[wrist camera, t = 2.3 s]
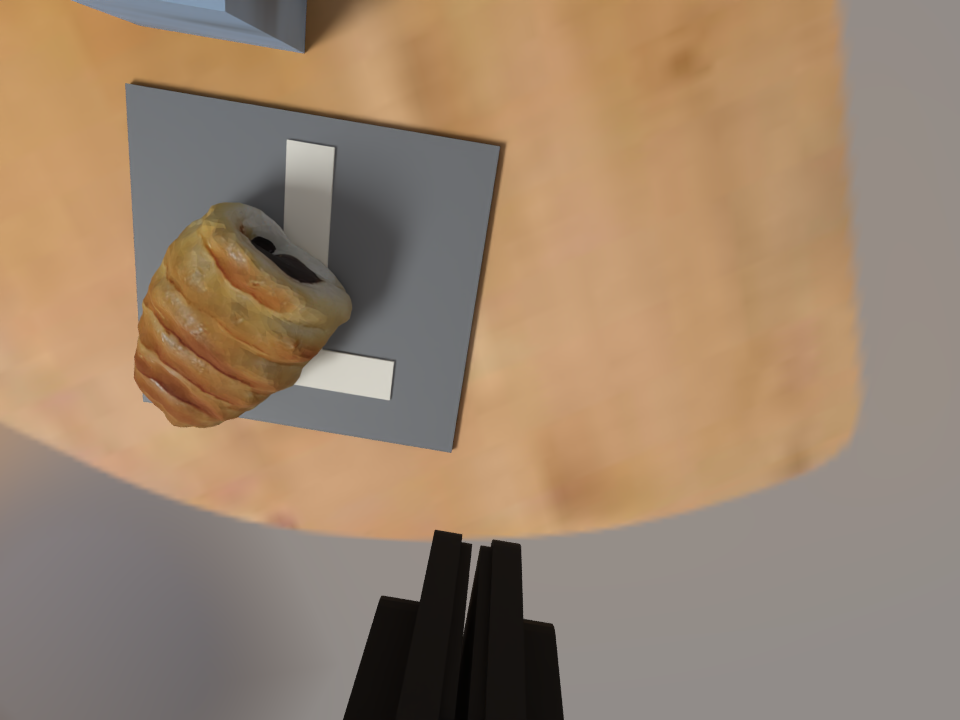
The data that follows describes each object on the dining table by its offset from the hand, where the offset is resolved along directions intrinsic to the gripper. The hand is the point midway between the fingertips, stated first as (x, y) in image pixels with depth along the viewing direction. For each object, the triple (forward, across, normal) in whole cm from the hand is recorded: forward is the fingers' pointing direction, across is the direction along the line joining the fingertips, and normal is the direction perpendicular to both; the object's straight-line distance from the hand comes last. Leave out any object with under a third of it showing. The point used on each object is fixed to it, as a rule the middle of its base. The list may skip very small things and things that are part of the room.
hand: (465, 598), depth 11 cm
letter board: (+14, +8, -2) cm, 16 cm away
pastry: (+14, +10, -1) cm, 17 cm away
